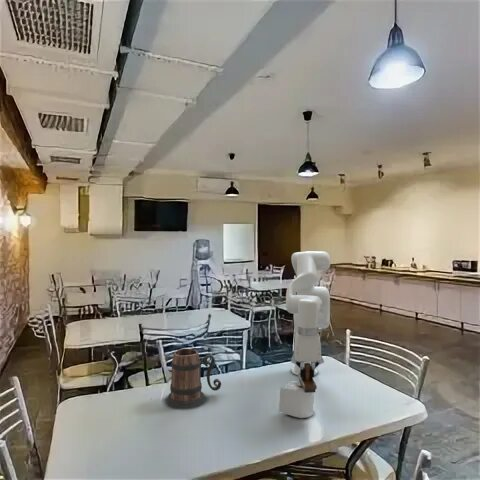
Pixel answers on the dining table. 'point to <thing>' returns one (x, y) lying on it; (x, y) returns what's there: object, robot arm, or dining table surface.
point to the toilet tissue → (296, 401)
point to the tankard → (188, 379)
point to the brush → (307, 380)
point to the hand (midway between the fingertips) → (307, 378)
